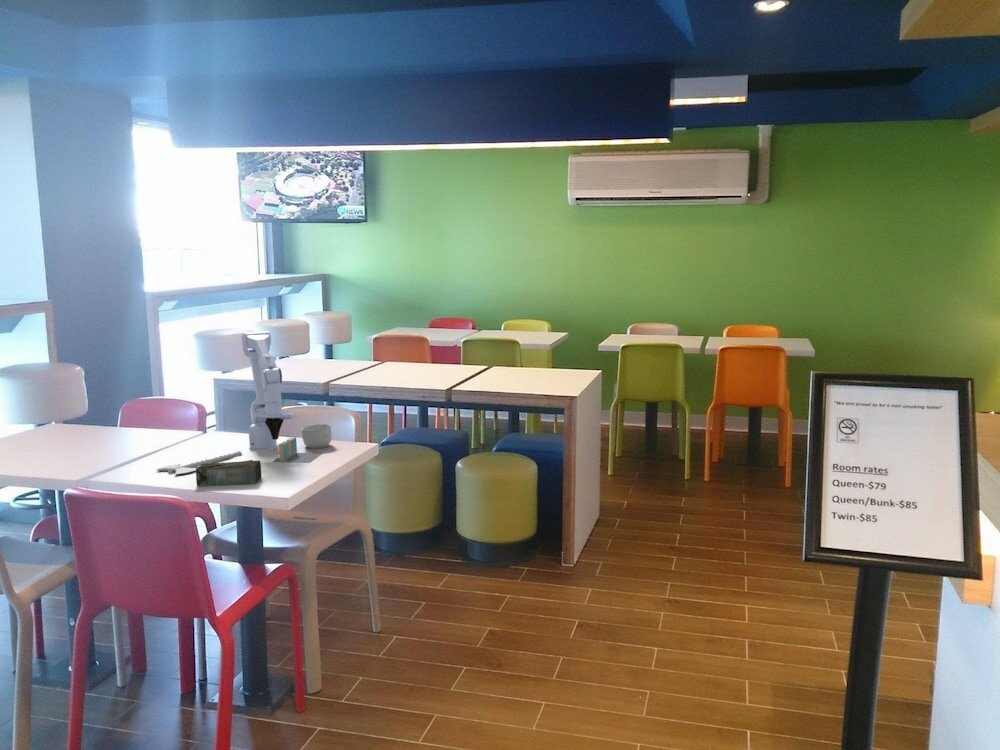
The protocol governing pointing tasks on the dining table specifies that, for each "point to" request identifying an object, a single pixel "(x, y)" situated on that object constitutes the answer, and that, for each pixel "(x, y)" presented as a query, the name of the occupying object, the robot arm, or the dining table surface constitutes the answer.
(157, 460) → the dining table surface
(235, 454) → the axe
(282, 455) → the tile
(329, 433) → the teacup
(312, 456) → the mat
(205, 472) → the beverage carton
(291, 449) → the tile
